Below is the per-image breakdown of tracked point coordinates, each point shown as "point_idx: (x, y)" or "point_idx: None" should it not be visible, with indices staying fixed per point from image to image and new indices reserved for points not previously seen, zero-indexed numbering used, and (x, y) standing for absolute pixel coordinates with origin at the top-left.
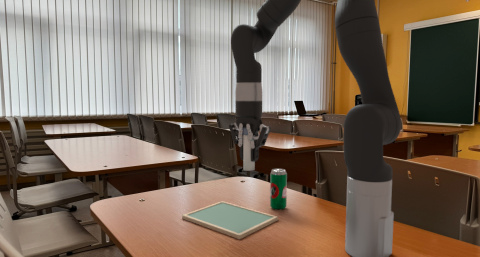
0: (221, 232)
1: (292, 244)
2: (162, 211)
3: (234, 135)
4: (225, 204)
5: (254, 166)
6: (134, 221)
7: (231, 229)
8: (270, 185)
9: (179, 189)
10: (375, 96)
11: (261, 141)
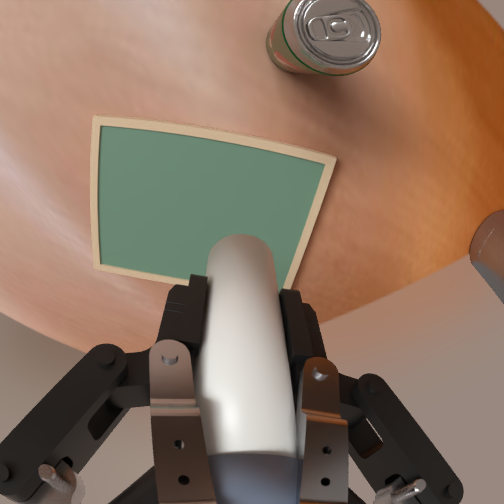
0: None
1: (390, 268)
2: (33, 250)
3: (98, 444)
4: (119, 133)
5: (274, 267)
6: (51, 310)
7: None
8: (281, 55)
9: None
10: None
11: (373, 437)
